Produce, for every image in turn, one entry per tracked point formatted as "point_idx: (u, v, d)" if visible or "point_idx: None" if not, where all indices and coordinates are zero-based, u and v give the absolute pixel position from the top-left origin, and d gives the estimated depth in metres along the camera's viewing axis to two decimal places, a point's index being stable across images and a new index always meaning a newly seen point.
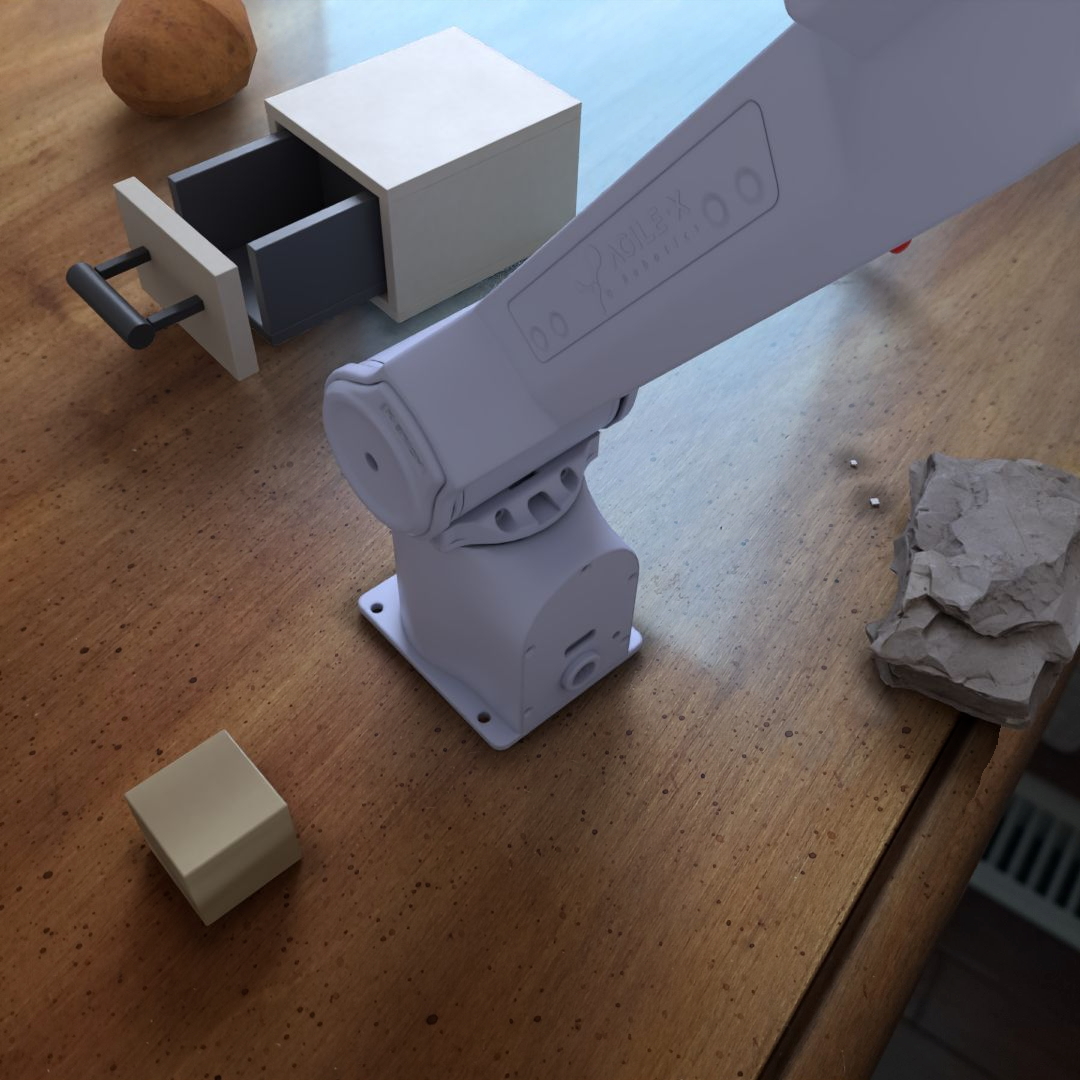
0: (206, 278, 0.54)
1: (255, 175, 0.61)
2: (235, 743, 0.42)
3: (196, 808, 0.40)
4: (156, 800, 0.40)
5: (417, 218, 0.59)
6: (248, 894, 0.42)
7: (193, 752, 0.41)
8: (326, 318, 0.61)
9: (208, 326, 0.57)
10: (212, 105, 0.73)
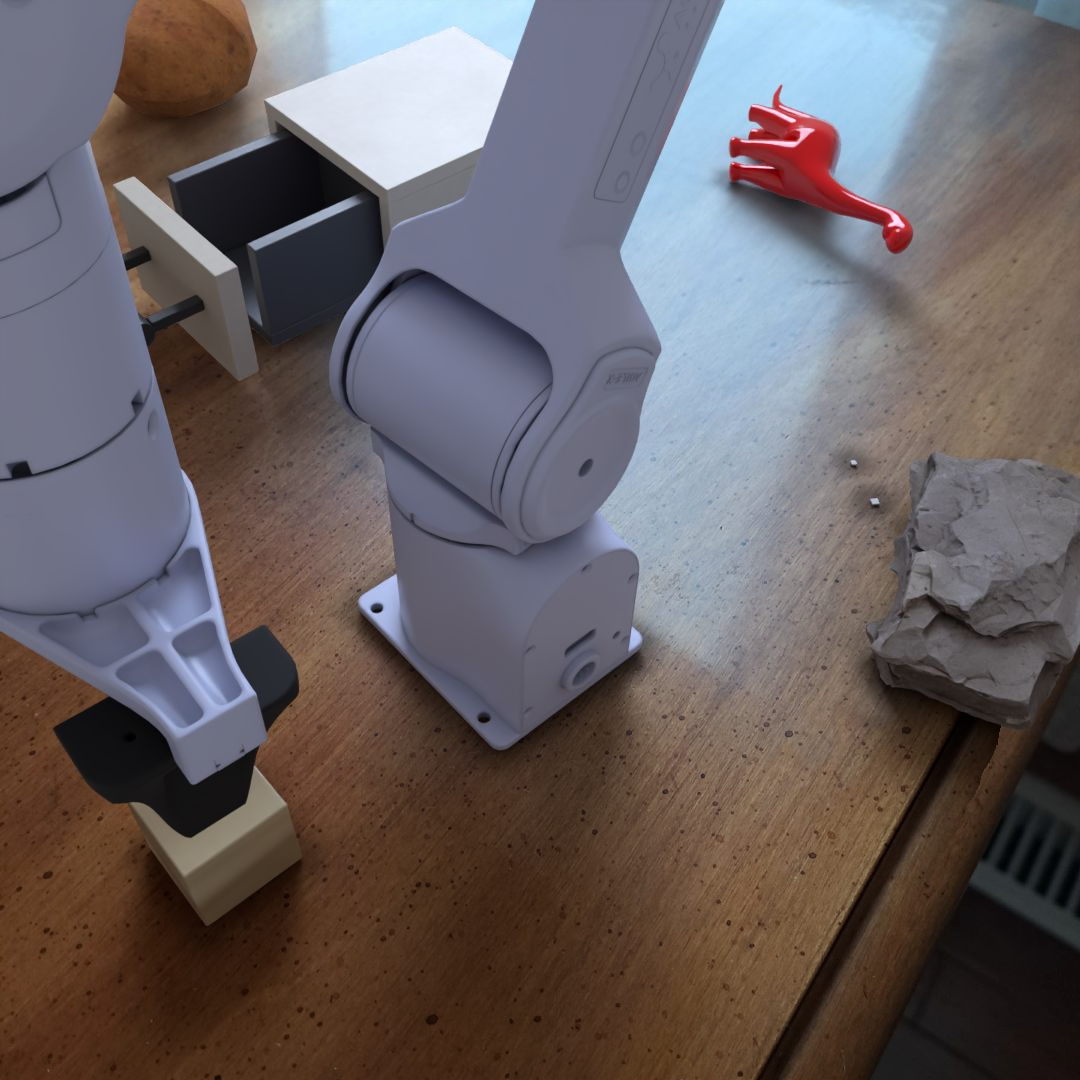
0: (206, 278, 0.54)
1: (255, 175, 0.61)
2: None
3: None
4: None
5: None
6: (248, 894, 0.42)
7: None
8: (326, 318, 0.61)
9: (208, 326, 0.57)
10: (212, 105, 0.73)
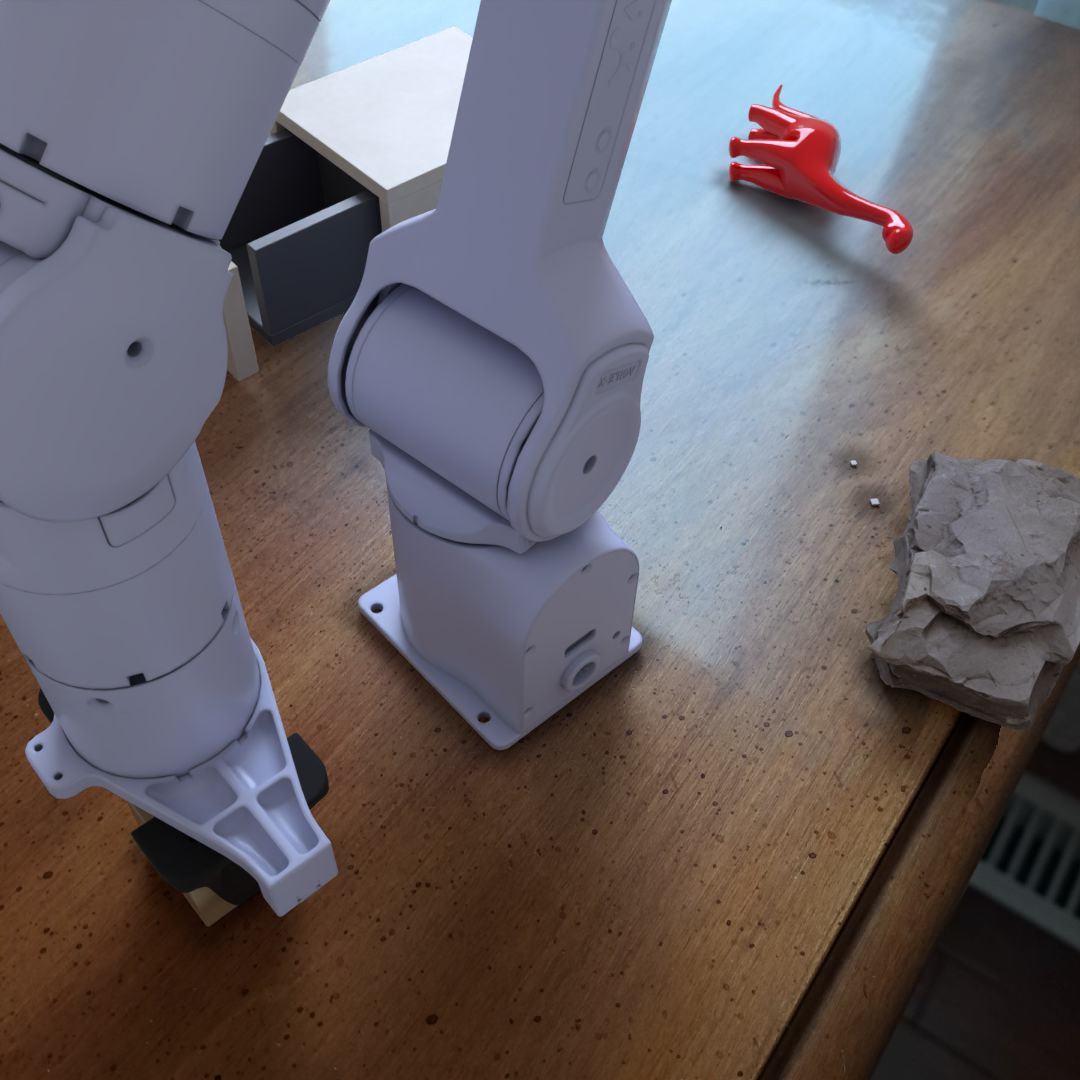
0: None
1: (255, 175, 0.61)
2: None
3: None
4: None
5: None
6: None
7: None
8: (326, 318, 0.61)
9: None
10: None
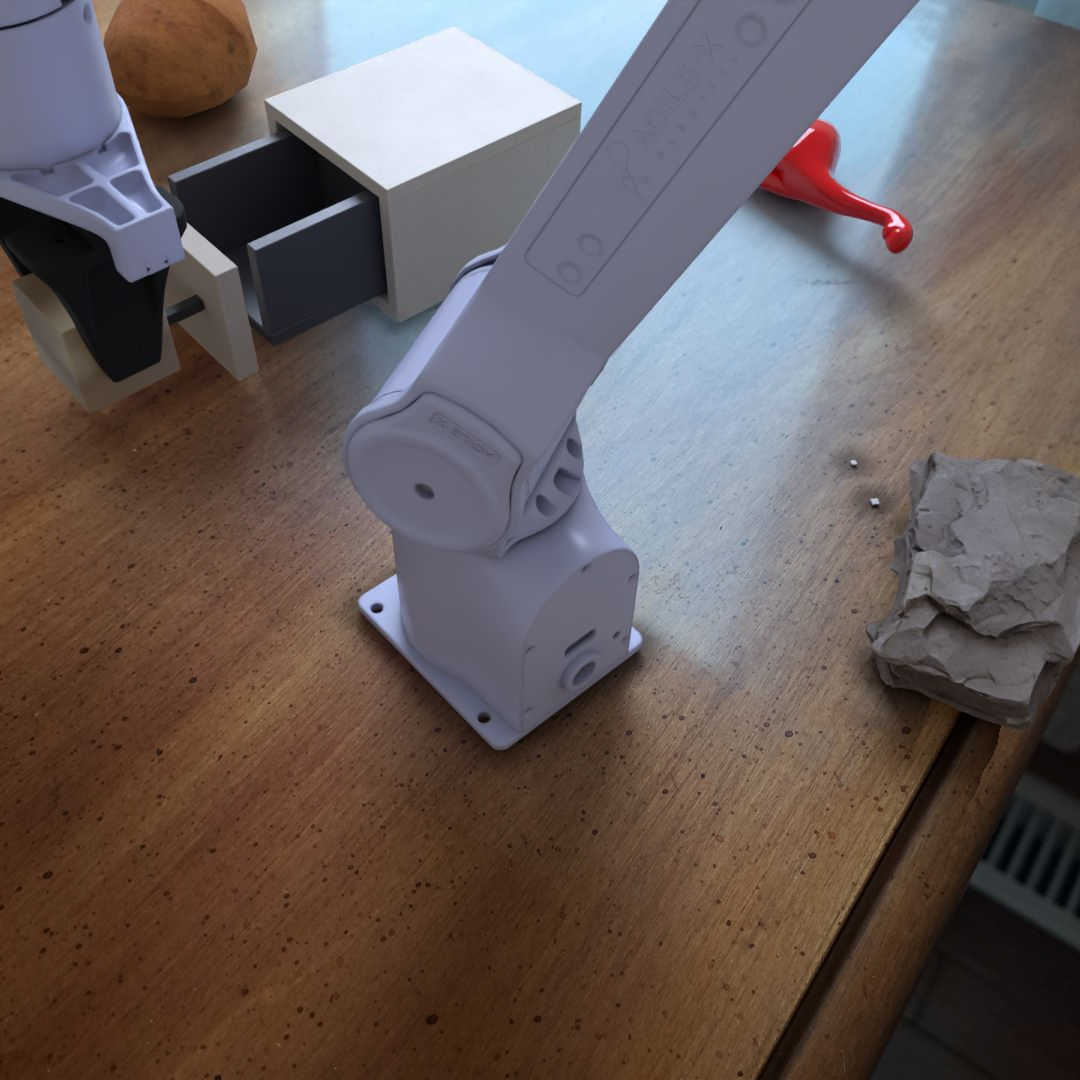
0: (206, 278, 0.54)
1: (255, 175, 0.61)
2: None
3: None
4: (40, 285, 0.44)
5: (417, 218, 0.59)
6: (129, 391, 0.46)
7: None
8: (326, 318, 0.61)
9: (208, 326, 0.57)
10: (212, 105, 0.73)
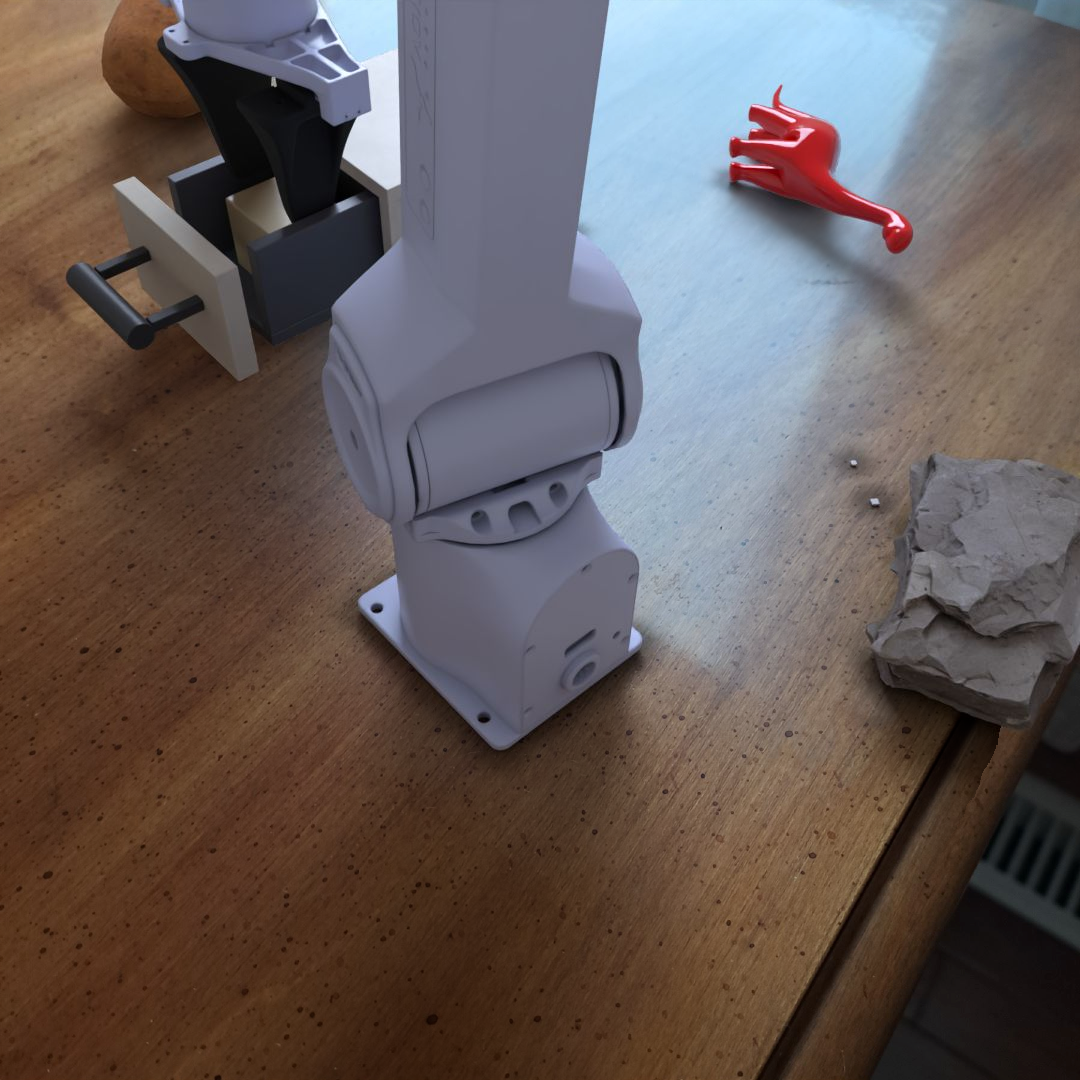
0: (206, 278, 0.54)
1: (255, 175, 0.61)
2: None
3: (275, 204, 0.59)
4: (247, 200, 0.59)
5: None
6: None
7: (271, 180, 0.60)
8: (326, 318, 0.61)
9: (208, 326, 0.57)
10: None
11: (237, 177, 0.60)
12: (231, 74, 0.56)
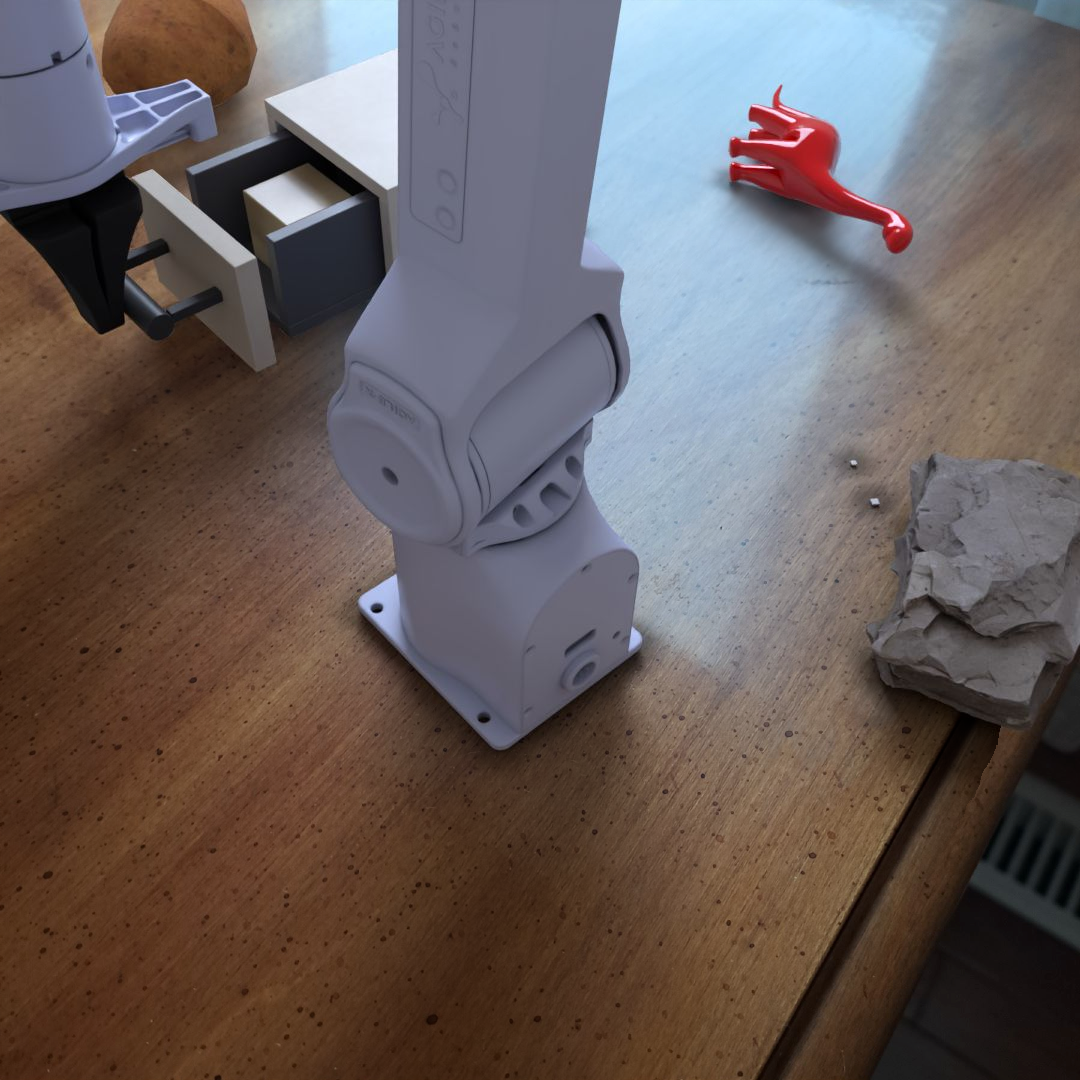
0: (225, 269, 0.55)
1: (271, 168, 0.62)
2: (316, 169, 0.61)
3: (292, 196, 0.59)
4: (265, 193, 0.60)
5: None
6: None
7: (287, 172, 0.61)
8: (342, 310, 0.61)
9: (227, 317, 0.58)
10: (212, 105, 0.73)
11: None
12: None
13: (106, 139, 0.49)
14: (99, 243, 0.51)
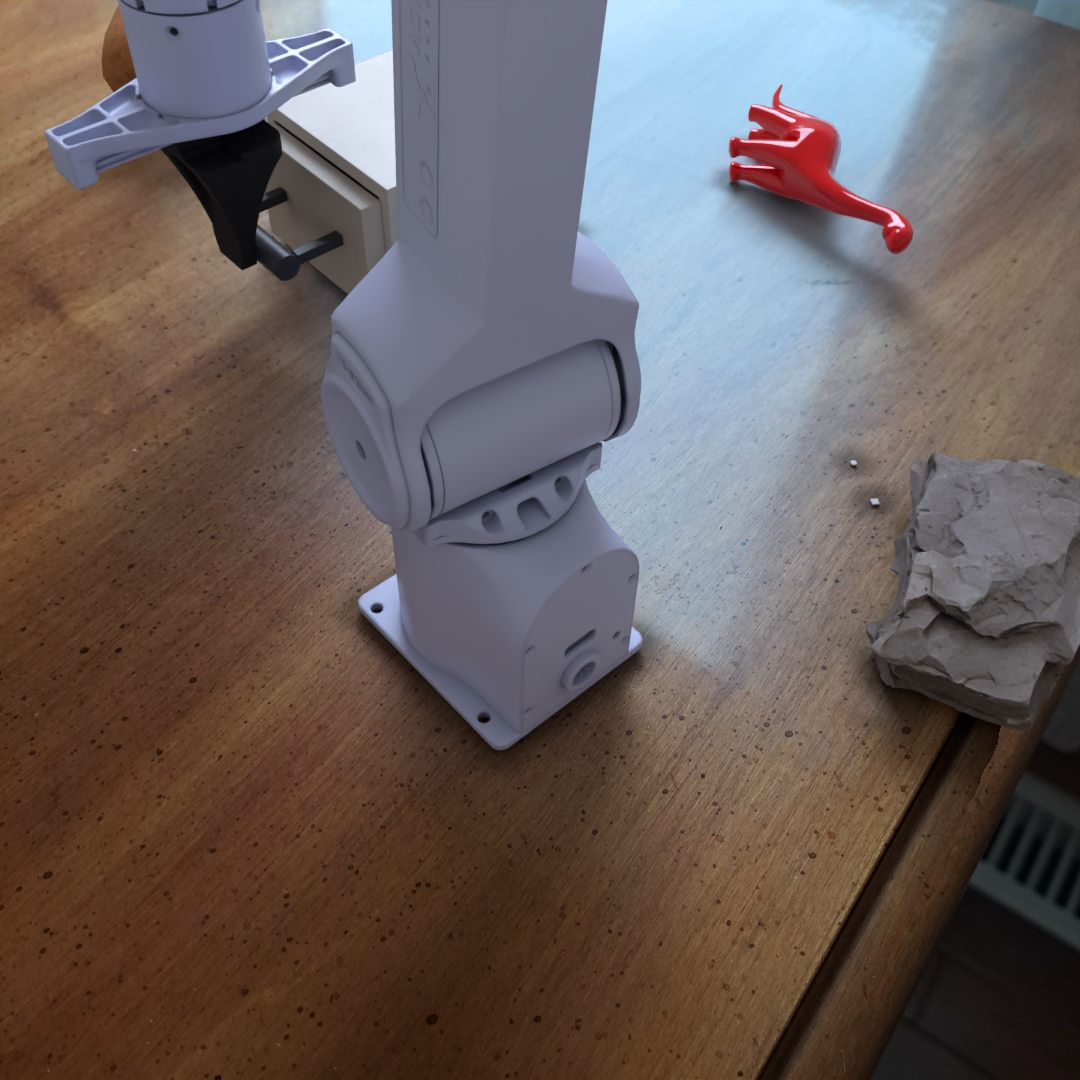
0: (350, 212, 0.58)
1: None
2: None
3: None
4: None
5: None
6: None
7: None
8: None
9: (345, 261, 0.61)
10: None
11: (220, 248, 0.60)
12: None
13: (265, 79, 0.52)
14: (241, 183, 0.54)
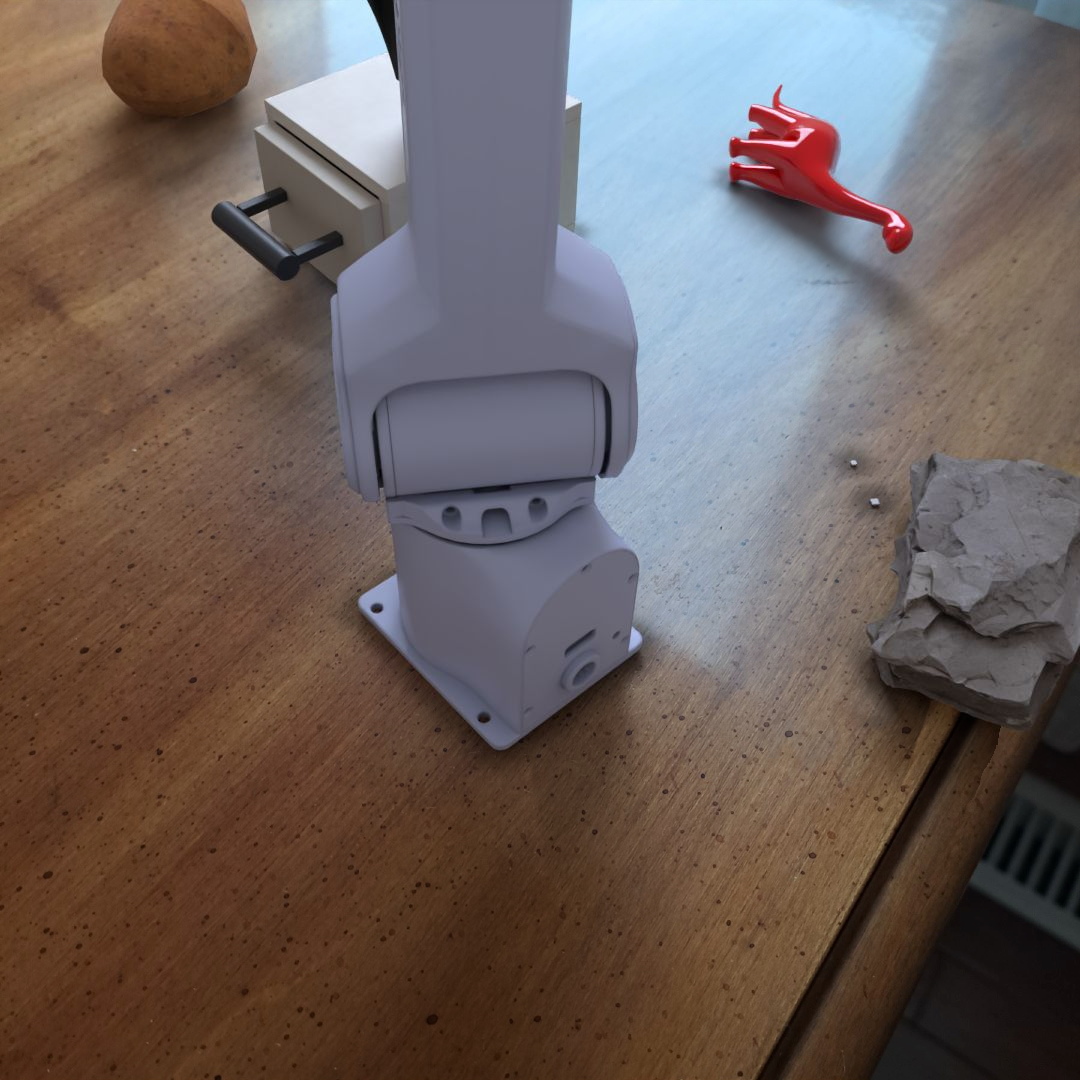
0: (350, 212, 0.58)
1: None
2: None
3: None
4: None
5: None
6: None
7: None
8: None
9: (345, 261, 0.61)
10: (212, 105, 0.73)
11: None
12: None
13: None
14: None
